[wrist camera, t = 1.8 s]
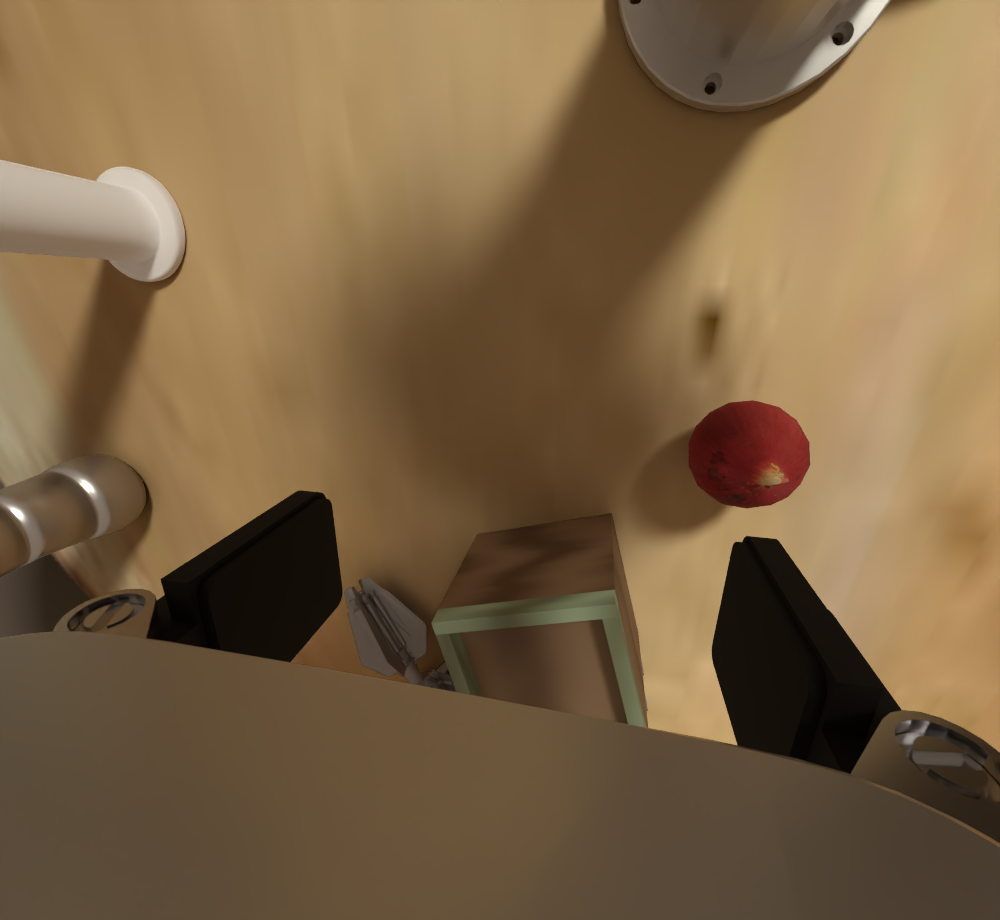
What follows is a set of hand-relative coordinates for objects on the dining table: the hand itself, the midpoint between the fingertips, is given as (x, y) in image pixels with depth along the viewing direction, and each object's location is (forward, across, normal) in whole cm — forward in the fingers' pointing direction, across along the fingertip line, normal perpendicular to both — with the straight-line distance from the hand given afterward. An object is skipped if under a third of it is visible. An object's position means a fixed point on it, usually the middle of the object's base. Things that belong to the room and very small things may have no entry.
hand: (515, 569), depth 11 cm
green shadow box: (+21, 0, +14) cm, 25 cm away
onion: (+21, -10, +2) cm, 23 cm away
